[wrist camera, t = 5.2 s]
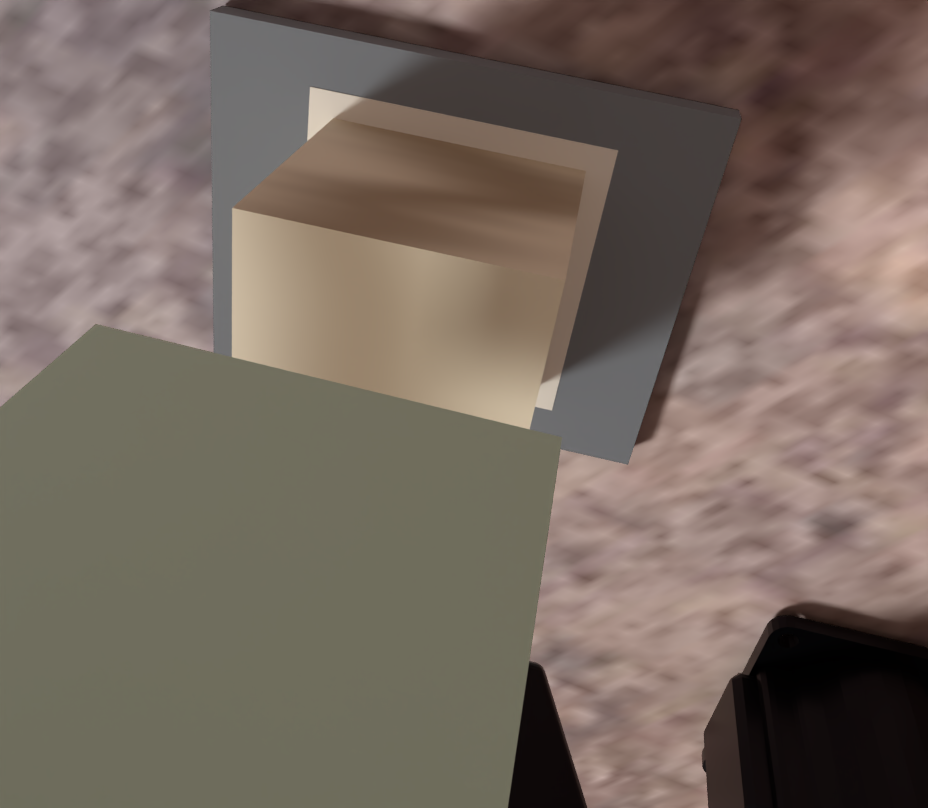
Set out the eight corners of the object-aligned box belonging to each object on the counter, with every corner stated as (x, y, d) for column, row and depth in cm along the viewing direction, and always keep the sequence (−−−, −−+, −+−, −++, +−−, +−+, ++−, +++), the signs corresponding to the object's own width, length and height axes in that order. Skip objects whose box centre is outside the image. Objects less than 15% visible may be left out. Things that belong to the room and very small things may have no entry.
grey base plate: (739, 110, 16) (742, 119, 16) (628, 449, 21) (627, 465, 20) (223, 6, 17) (209, 11, 16) (223, 357, 21) (213, 369, 21)
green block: (561, 437, 9) (486, 956, 5) (475, 733, 12) (381, 1224, 8) (95, 324, 9) (-363, 721, 5) (121, 640, 12) (-159, 1064, 8)
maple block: (585, 170, 17) (565, 280, 13) (534, 387, 19) (504, 535, 15) (333, 117, 17) (232, 207, 13) (318, 338, 20) (231, 471, 16)
